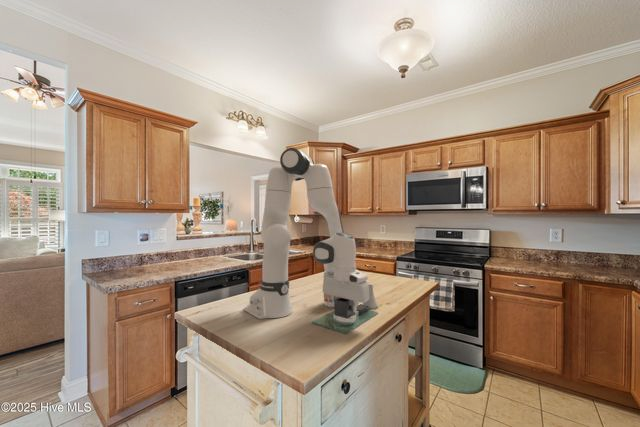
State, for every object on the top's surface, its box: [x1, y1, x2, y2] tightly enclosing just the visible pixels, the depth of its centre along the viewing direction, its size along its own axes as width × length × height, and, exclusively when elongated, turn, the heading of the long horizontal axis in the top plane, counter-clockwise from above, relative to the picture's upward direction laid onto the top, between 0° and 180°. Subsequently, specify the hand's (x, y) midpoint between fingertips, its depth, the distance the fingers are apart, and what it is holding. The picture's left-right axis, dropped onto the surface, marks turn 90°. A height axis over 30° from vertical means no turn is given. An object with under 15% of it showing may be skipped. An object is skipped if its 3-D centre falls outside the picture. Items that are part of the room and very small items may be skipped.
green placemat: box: [311, 303, 379, 335], centre depth 112 cm, size 16×25×7 cm, turn 141°
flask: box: [362, 283, 379, 310], centre depth 126 cm, size 7×7×10 cm
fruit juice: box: [323, 263, 340, 308], centre depth 129 cm, size 9×9×28 cm
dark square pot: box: [333, 298, 355, 319], centre depth 108 cm, size 6×6×6 cm
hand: (344, 309), depth 108 cm, fingers open, 7 cm apart
